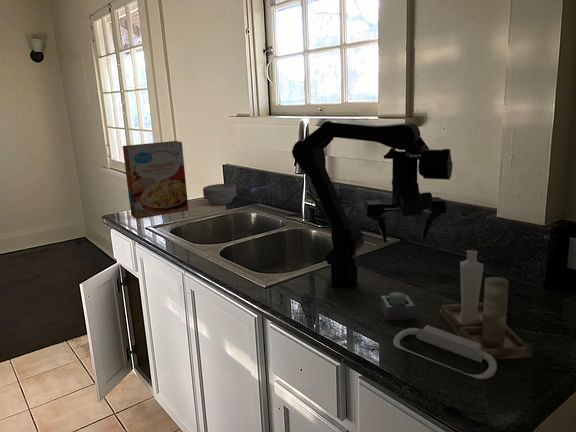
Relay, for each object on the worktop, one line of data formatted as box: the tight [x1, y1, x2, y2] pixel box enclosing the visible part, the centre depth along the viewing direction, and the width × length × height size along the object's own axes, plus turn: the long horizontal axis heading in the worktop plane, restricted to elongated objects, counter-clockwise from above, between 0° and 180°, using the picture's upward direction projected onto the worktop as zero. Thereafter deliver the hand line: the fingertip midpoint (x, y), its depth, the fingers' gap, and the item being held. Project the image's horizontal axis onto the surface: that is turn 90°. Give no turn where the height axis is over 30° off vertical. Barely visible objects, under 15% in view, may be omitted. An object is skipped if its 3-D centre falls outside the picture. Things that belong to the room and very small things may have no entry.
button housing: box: [380, 294, 416, 321], centre depth 109 cm, size 6×6×4 cm
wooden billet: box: [481, 276, 510, 349], centre depth 93 cm, size 4×4×13 cm
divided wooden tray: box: [438, 302, 533, 361], centre depth 100 cm, size 10×21×2 cm, turn 2°
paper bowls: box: [202, 183, 237, 206], centre depth 230 cm, size 15×15×8 cm
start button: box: [388, 291, 407, 305], centre depth 109 cm, size 4×4×4 cm
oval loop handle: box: [392, 324, 498, 380], centre depth 92 cm, size 20×8×4 cm, turn 43°
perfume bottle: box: [459, 249, 484, 322], centre depth 104 cm, size 5×4×15 cm
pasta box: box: [122, 140, 189, 220], centre depth 213 cm, size 23×8×30 cm, turn 122°
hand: (403, 241), depth 120 cm, fingers open, 9 cm apart
